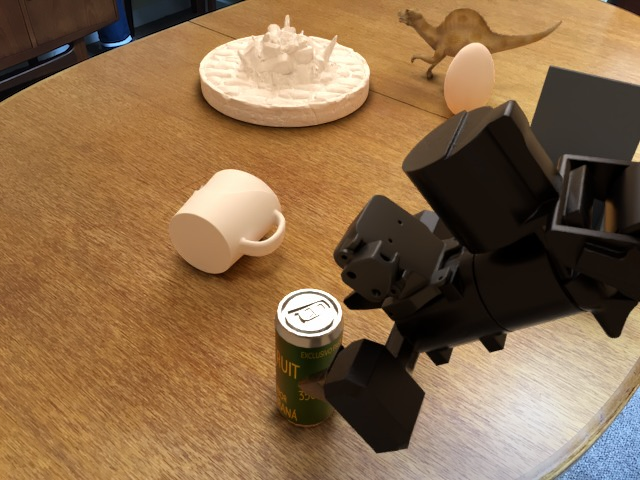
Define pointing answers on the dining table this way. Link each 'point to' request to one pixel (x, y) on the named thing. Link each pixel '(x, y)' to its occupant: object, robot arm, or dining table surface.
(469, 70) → the egg
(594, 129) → the lid
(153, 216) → the dining table surface
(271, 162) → the dining table surface
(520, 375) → the dining table surface
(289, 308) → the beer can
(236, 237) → the mug
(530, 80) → the dining table surface
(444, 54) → the dinosaur figurine
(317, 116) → the cake
